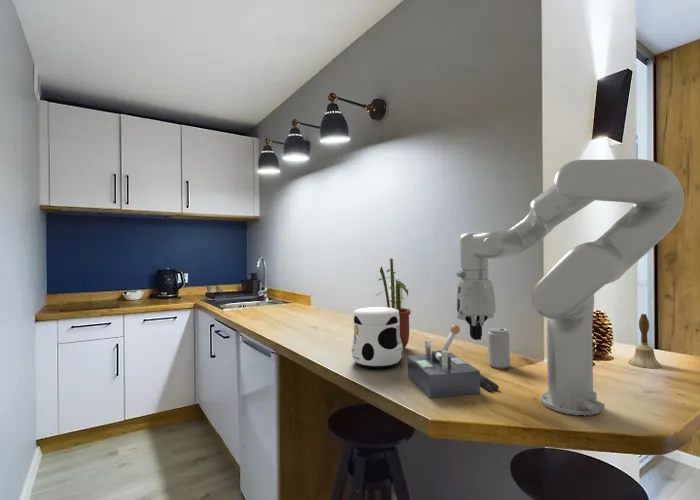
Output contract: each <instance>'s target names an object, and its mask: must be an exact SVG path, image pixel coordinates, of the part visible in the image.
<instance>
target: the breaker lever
mask: <svg viewBox="0 0 700 500" xmlns="http://www.w3.org/2000/svg"><path fill="white" fill-rule="evenodd" d="M460 331H461V328H460V326H459V325H457V324H452V325H451V326H450V334H449V335H448V336H447V339H446V341H445V343H444V345H443V347H442V349H441V351H447V352H448V350H449V348H450V346H451V344H452V342H453V340H455V339H454V338H455V336H456V335H458V334H459V333H460ZM439 356H441V353H439V352H437V353H436V354H435V358H436V359H437V360H439V361H440V359H439Z"/></svg>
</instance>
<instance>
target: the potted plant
mask: <svg viewBox="0 0 700 500" xmlns="http://www.w3.org/2000/svg"><path fill="white" fill-rule="evenodd" d="M389 264H390V265H389V266H390V268H389V269H386V273H387V274H388V273H389V272H390V276H388V277H386V276H385V271H384V269H383V267H382V265H381V266H380V268H379V272H380V275H381V278H379V279H378V280H377V281H378V282H380V281H382V282H383V283H382V284H383V287H384V291H382V292H379V293H378V294H376V295H375V297H377V296H379V295H380V294H384V293H385V299H386V300H385V301H386V306H387V307H388V308H394V309H397V310H398V311H399V318H400V319H399V322H400V338H401V342H402V345H403V350H404V349H405V348H406V347H407V345H408V343H409V339H410V315H411V312H412V311H411V309H409V308H405V307H404V308H403V307H402V303H401V299H403V300H405V298H404V297H402V296H401V289H402V290H403V291H405V294H406V296H407V297H408V296H409V290H408V289H407V286H406V285H405V284H404V283H403V282H402V281H401V280H400V278H399V279H398V278H397V279H395V274H396V273H397V271H395V269H394V258H391V257H390V258H389ZM389 278H390V286H389V287H388V285H387V280H386V279H389ZM388 288H389V289H390V293H391V294H390V297H391V303H390V297H389V291H388ZM375 297H374V298H375ZM374 298H372V299H373V300H374ZM395 302H396V303H395ZM395 304H396V305H395Z"/></svg>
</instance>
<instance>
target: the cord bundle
mask: <svg viewBox="0 0 700 500" xmlns="http://www.w3.org/2000/svg"><path fill="white" fill-rule="evenodd" d="M480 387H482V388H484V389H485V390H486V391H488V392H491V391H493V390H494V391H498V390H499V385H498V384H497V383H495V382H494V381H492V380H491V379H489V378H488V377H485V376H484V375H483V374H481V373H480Z"/></svg>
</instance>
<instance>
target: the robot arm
mask: <svg viewBox="0 0 700 500" xmlns="http://www.w3.org/2000/svg"><path fill="white" fill-rule="evenodd" d="M683 190H684V189H683V186H682V185H681V183H680V180H679V179H678V177H677V176H676V175H675V174H674V173H673V171H671V170H670V169H669V168H667V167H666V166H664V165H662V164H660V163H658V162H655V161H653V160H650V159H643V158H639V159H638V158H632V159H631V158H630V159H628V158H626V159H625V158H623V159H620V158H619V159H618V158H616V159H576V160H572V161H569V162H566V164H564V165H563V166H562V167H560V168H559V170H557V172H556V174H555V176H554V183H553V185H551V186H550V187H548V188H547V189H546V190H544V191H543V192H542V193H540V194H539V195H537V197H534V198H533V200H532V201H531V202H530V207H529V208H530V210H529V212H528V213H527V215H526V216H525V218H523V219H522V220H521V221H520V222H518V223H517V224H516V225H514V226H513V227H511V228H510V229H508V230H493V231H486V232H469V233H467V232H466V233H462V234H461V236H460V238H459V239H460V240H459V243H460V245H459V246H460V247H459V248H460V251H459V252H460V253H459V254H460V271H458V272H456V277H457V278H460V280H459V281H458V285H457V293H456V311H457V319H459V320H461V321H465V322H466V323H467V324H468V325H469V336H470V337H471V339H473V340H475V341H478V340H479V341H480V340H482V336H483V326H484V323H485V322H486V321H487V320H488V319H492V318H494V314H495V313H496V296H495V291H494V286H493V281H492V279H489V259H492V260H493V259H495V260H497V259H504V258H505V259H507V258H514V257H517V256H518V255H521V254H522V253H523V252H526V250H528V249H530V248H532V247H533V246H535V245H536V244H538V243H539V242H540V241H542V240H543V239H544V238H546V236H547V235H548V234H549V233H551V232H552V231H553V229H554V228H555V227H558V225H560V224H562V223H563V222H564V221H566V220H567V219H569V218H570V217H572V216H574V215H575V214H576V213H578V212H579V211H581V210H582V209H584V208H586V207H587V206H589V205H590V204H592V203H593V202H594V201H600V202H616V203H630V204H632V206H631V208H629V211H627V213H625V214H624V215H622V216H621V217H620V218H619V219H618V220H617V221H616V222H615V223H614V224H612V226H610V228H609V229H608V230H607V231H605V232H604V233H603V234H602V235H601V236H600V237H598V238H597V239H596V240H595V241H590V242H584V243H581V244H578V245H576V246H575V247H574V248H572V249H570V250H569V251H568V252H567V253H566V254H565V255H564V256H562V258H561V259H559V260H558V262H557V263H556V264H555V265H553V267H551V269H549V270H548V271H547V272H546V273H545V274H544V275H543V276H542V277H541V278H540V279H539V280H538V282H536V284H535V285H534V287H533V289H532V291H531V294H530V296H531V297H530V299H531V304H532V307H533V309H535V311H536V312H537V313H538V314H539V315H540V316H542V317H543V318H546V319H547V322H546V324H547V325H546V327H547V328H546V355H547V356H546V358H547V359H546V360H547V391H546V392H544V393H542V394H541V396H540V397H541V403H542V404H543V405H544V406H545V407H547V408H548V409H551V410H553V411H555V412H558V413H562V414H566V415H571V414H572V415H571V416H579V415H584V417H585V415H589V416H594V414H595V415H598V414H599V412H600V413H601V412H602V410H603V409H605V407H606V406H605V403H603V402H601V401H599V400H598V398H597V392H595V391H594V366H593V365H594V362H593V357H594V356H593V322H594V321H593V318H594V309H595V294H596V293H597V292H598V291H599V290H600V289H602V288H603V287H605V286H606V285H608V284H612V283H614V282H616V281H617V280H619V279H620V278H621V277H623V276H624V275H625V273H626V272H627V271H629V269H630V268H631V267H633V266H634V265H635V264H636V263H638V261H640V260H641V259H642V258H644V256H645V255H647V253H649V252H650V251H651V250H652V249H653V248H654V247H655V246H657V244H658V243H659V242H660V241H661V240H662V239H664V238H665V237H666V236H667V235H668V234H669V233H670V232H671V231H672V230H673V228H675V226H676V224H677V223H678V222H679V220H680V218H681V216H682V213H683V211H684V207H685V193H684V191H683Z"/></svg>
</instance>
